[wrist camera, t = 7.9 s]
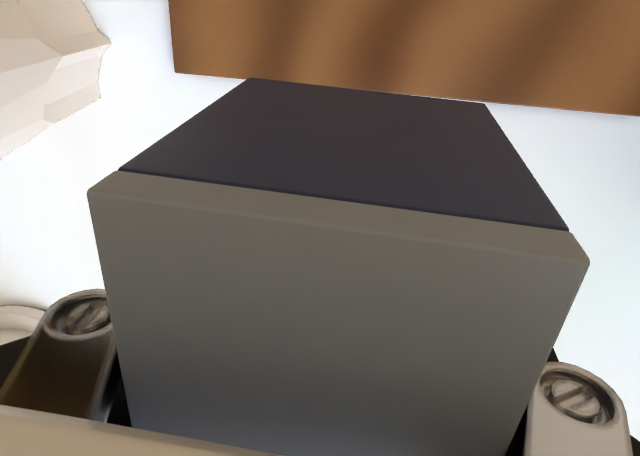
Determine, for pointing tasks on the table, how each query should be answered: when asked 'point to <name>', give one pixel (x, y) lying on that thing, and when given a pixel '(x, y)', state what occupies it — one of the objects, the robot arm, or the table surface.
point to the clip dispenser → (333, 275)
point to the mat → (424, 47)
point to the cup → (45, 66)
